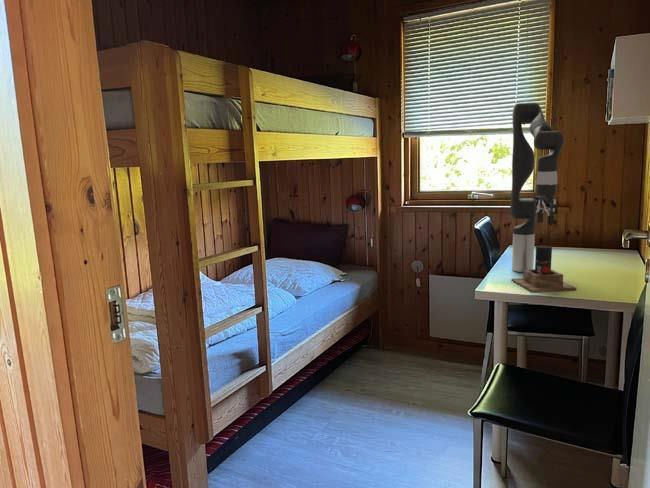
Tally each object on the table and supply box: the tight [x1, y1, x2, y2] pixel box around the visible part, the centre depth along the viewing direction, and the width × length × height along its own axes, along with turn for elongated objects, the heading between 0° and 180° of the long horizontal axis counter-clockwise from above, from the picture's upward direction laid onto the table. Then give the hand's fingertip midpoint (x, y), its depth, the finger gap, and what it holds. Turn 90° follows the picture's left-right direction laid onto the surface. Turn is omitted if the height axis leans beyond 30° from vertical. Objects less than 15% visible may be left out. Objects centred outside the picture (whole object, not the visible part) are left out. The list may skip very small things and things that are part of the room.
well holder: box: [511, 268, 577, 293], centre depth 200 cm, size 18×18×6 cm
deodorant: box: [534, 245, 553, 275], centre depth 199 cm, size 6×6×15 cm
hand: (545, 223), depth 196 cm, fingers open, 8 cm apart
